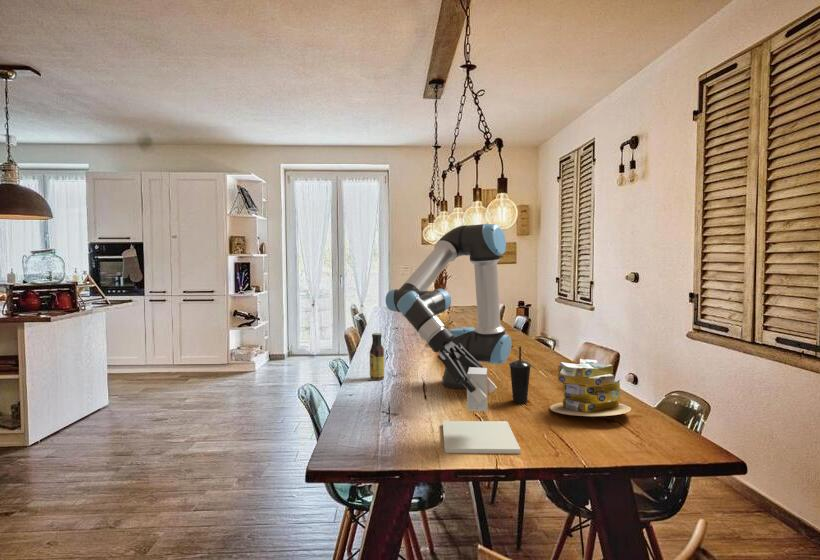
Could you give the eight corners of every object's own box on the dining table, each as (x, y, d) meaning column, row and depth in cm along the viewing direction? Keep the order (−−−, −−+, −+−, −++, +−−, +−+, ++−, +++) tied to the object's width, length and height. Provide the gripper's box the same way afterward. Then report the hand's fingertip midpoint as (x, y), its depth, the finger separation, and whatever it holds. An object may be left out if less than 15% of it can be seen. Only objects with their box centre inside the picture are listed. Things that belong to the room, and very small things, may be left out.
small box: (486, 412, 123) (487, 374, 122) (466, 410, 124) (466, 373, 123) (487, 402, 130) (487, 367, 130) (468, 401, 132) (468, 366, 131)
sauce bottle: (370, 377, 195) (369, 332, 194) (384, 376, 195) (383, 331, 194) (369, 381, 188) (369, 334, 187) (384, 380, 189) (384, 334, 188)
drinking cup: (532, 399, 161) (532, 345, 160) (529, 406, 154) (529, 349, 153) (511, 397, 164) (511, 343, 163) (507, 403, 158) (507, 347, 157)
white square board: (442, 424, 138) (442, 421, 138) (507, 425, 137) (507, 421, 137) (444, 452, 118) (444, 448, 118) (520, 453, 117) (520, 449, 117)
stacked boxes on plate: (536, 404, 156) (536, 357, 155) (598, 398, 162) (598, 353, 161) (578, 431, 132) (578, 375, 131) (648, 423, 138) (649, 370, 137)
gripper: (443, 337, 143) (490, 392, 136) (412, 349, 124) (466, 414, 117) (458, 322, 140) (508, 377, 134) (429, 332, 121) (485, 397, 114)
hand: (488, 395), depth 125 cm, fingers closed on small box, 9 cm apart
